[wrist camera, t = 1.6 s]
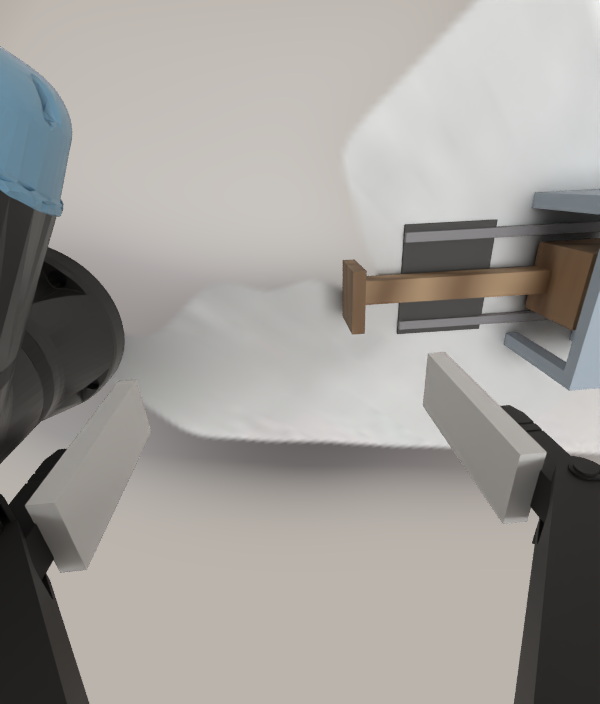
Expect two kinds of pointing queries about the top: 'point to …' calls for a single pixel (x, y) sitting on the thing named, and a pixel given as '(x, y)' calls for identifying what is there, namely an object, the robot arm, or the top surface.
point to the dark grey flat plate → (440, 260)
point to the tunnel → (592, 329)
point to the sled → (484, 284)
